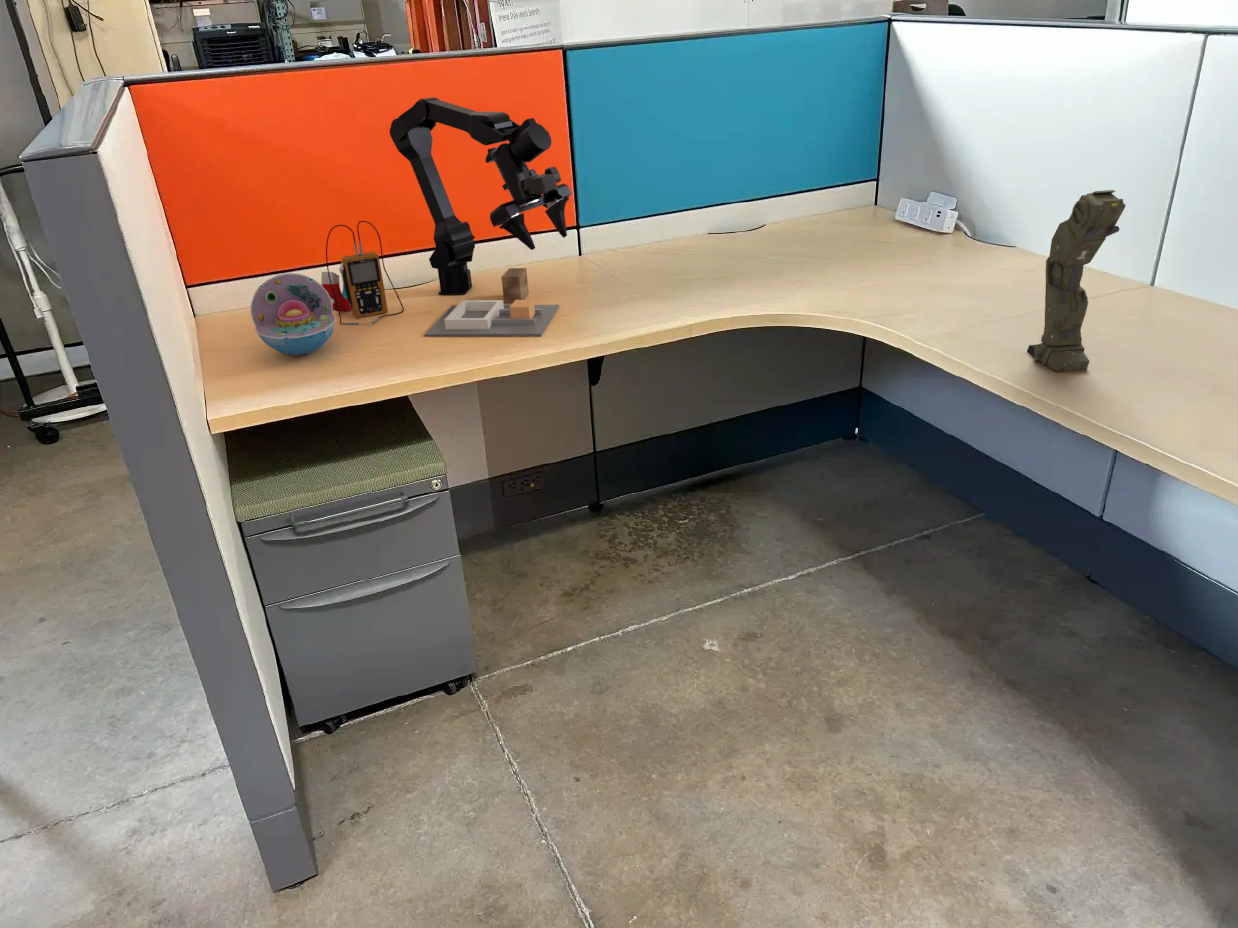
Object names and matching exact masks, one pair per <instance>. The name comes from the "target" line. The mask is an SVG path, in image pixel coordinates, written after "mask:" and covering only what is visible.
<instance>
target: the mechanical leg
mask: <svg viewBox="0 0 1238 928" xmlns="http://www.w3.org/2000/svg"><path fill="white" fill-rule="evenodd" d="M1115 192H1116V191H1115V190H1114V189H1110V190H1109V189H1106V190H1095V191H1093V192H1089V193H1086V194H1082V195H1081V196H1080V197H1079V199H1078V200H1077V201H1076V202H1075V203H1074V206H1073V207H1072V211H1071V213H1070V215H1069V217H1068V219H1066V220H1064V221H1062V222H1060V223H1059V224H1058V226H1057V228H1056V230H1055V233H1054V234H1053V236H1052V239H1051V243H1050V247H1049V248H1050V250H1049V256H1048V257H1047V258H1046V260H1045V296H1044V298H1045V300H1044V302H1045V303H1044V328H1043V334H1042V335H1041V339H1040V343H1038V344H1029V345H1028V348H1027V350H1026V352H1028V354H1030V356H1032V357H1033V359H1034V360H1036V361H1038V362H1041V364H1043V365H1045V366H1047V367H1048V368H1049V369H1051V370H1052V371H1054V372H1056V373H1060V372H1061V373H1062V372H1063V373H1064V372H1074V371H1086V370H1087V369H1088V368H1089V364H1090V359H1089V358H1088V356H1087V355H1086V353H1085V346H1083V343H1082V340H1083V339H1082V332H1081V330H1082V327H1083V323H1084V320H1085V317H1086V315H1087V314H1086V313H1087V310H1088V309H1087V308H1088V306H1089V300H1088V296H1087V292H1086V290H1085V288H1084V287H1082V286H1081V281H1082V278H1083V275H1084V266H1085V265H1088V264H1090V263H1091V262H1092V260H1093V259H1094V258H1095V255H1096V254H1097V253H1098V252H1099V249H1100V248H1101V247H1102V245H1103V243H1104V242H1105V241H1106V239H1107V237H1109V236H1111V235H1114V234H1116V233H1118V232H1120V226H1119V225H1117V222H1118V221H1119V219H1120V217H1121V216H1122V214H1123V212H1124V210H1125V208H1126V207H1127V205H1126V203H1125V202H1124V199H1123V198H1118V197H1117V196H1116V195H1114V194H1113V193H1115Z"/></svg>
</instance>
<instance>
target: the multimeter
mask: <svg viewBox="0 0 1238 928" xmlns="http://www.w3.org/2000/svg"><path fill="white" fill-rule="evenodd" d="M361 223H367V224H369V225H370V226H372V227H373V228H374V230H375V231H376V234H377V236H378V239H379V246H380V247H379V248H380V256H381V262H382V266H383V270H384V272H385V275H386V276H387V278H388V280H389V282H390V284H391V287H392V288H393V291H394V293H395V295H396V297H397V300H398V301H399V303H400V306H401V308H402V310H401V311H399V312H396V313H391V314H387V313H388V311H389V309H388V305H387V298H386V290H385V285H384V279H383V274H382V268H381V262H380V256H379V254H378V253H376V252H374V251H369V252H364V249H363V247H362V241H361V236H360V232H359V225H360V224H361ZM338 227H345V228H347V229H348V230H350V232H351V233H352V237H353V244H354V253H355V254H352V255H345V256H344V255H343V257H341V263H343V279H342V281H343V280H344V286H345V291H346V295H347V299H348V301H349V303H350V306H351V308H352V310H351V312H352V315H353V316H354V318H356V319H362V318H364V317H369V316H375V315H381V314H382V315H381V316H379V317H377V318H375V319H374V320H372V321H370V323H369V324H368V322H356V321H355V322H353V321H351V322H342V317H341V313H340V312H339V308H338V305H337V301H336V297H335V294H334V290H333V287H332V283H331V279H330V275H329V272H330V270H329V264H328V263H329V262H328V245H329V238H330V234H331V232H332V231H333V229H335V228H338ZM356 229H357V237H358V243H359V249H358V247H357V246H358V245H357V242H356V237H355V233H354V231H353V229H351V227H349V226H348V225H345V224H337V225H334V226H333V227H332V228H330V230H329V232H328V234H327V238H326V244H325V260H326V269H327V272H328V276H329V280H330V284H331V288H332V291H333V295H334V298H335V302H336V305H337V309H338V311H337V312H338V315H339V325H349V326H352V325H355V326H356V325H357V326H359V325H366V324H368V325H367V326H368V327H369V326H371V325H374V324H375V323H376V322H378V321H379V319H380V318H383V317H388V316H396V315H399V314H402V313H404V310H405V307H404V306H403V303H402V301H401V299H400V296H399V295H398V292H397V291H396V288H395V287H394V285H393V282H392V280H391V278H390V276H389V275H388V272H387V270H386V267H385V264H384V257H383V256H384V255H383V247H382V241H381V236H380V234H379V232H378V229H377V228H376V227H375V226H374V225H373V224H372V223H371V222H369V221H366V220H360V221H358V223H357V226H356ZM359 251H360V252H359Z"/></svg>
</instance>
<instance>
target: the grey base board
mask: <svg viewBox="0 0 1238 928" xmlns="http://www.w3.org/2000/svg"><path fill="white" fill-rule="evenodd" d="M511 305H512V304H504V299H500V300H499V299H497V300H496V299H492V300H491V299H490V300H489V299H488V300H487V299H486V300H485V299H484V300H483V299H481V300H480V299H479V300H472V299H471V300H461V301H460V302H459V303H458V304H453V305H451V306H449V308H448V309H446V311H445V312H444V313H443V314H442V315H441V316H440V317H439V318H438V320H436V321H435V323H434V324H432V325H431V327H429V329H427V331H425V332H424V337H427V338H428V337H429V338H430V337H433V338H434V337H437V338H438V337H442V338H443V337H448V338H449V337H457V338H458V337H459V338H460V337H462V338H463V337H465V338H466V337H468V338H469V337H542V336H543V334H544V333H545V331H546V329H547V328H548V326H549V324H550V323H551V320H552V319H553V318H554V316H555V314H556V313H557V312H558V309H559V308H560V304H534V305H535V315H534V316H533V318H511V315H510V306H511Z"/></svg>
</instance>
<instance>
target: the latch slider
mask: <svg viewBox="0 0 1238 928" xmlns="http://www.w3.org/2000/svg"><path fill="white" fill-rule="evenodd" d="M510 305H511V306H510V315H511V318H533V316H534V315H535V305H536V304H535V299H525V300H515V301H514V302H513V303H511V304H510Z"/></svg>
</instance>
